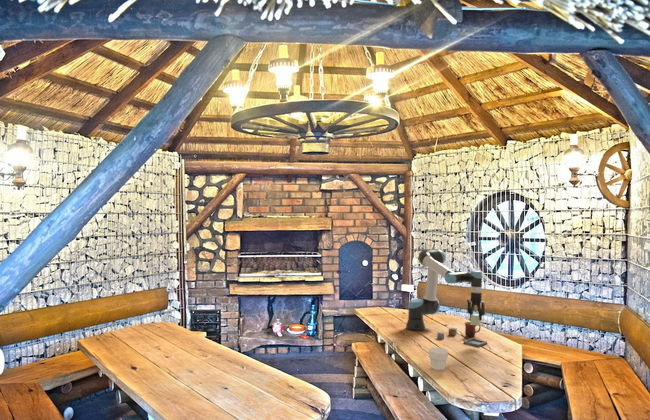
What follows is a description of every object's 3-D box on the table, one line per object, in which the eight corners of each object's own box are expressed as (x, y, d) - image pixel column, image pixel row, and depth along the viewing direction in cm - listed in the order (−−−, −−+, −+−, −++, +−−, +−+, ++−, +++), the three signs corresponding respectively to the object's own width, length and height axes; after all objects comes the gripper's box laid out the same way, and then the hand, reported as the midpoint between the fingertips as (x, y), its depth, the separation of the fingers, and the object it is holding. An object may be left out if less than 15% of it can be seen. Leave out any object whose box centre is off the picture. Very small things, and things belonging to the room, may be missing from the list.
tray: (463, 343, 377) (463, 341, 377) (472, 340, 385) (472, 338, 385) (478, 347, 369) (478, 344, 368) (487, 344, 377) (487, 341, 377)
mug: (465, 337, 393) (465, 324, 393) (463, 334, 402) (463, 321, 401) (481, 338, 392) (481, 325, 392) (479, 335, 400) (479, 322, 400)
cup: (425, 369, 319) (426, 351, 319) (430, 363, 330) (430, 346, 330) (446, 372, 314) (446, 354, 314) (450, 366, 325) (450, 348, 325)
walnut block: (448, 335, 400) (448, 328, 400) (450, 333, 405) (450, 327, 405) (455, 336, 398) (455, 329, 398) (456, 334, 402) (456, 328, 402)
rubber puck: (435, 338, 390) (436, 333, 390) (439, 337, 394) (439, 332, 394) (441, 339, 387) (441, 334, 387) (445, 338, 390) (445, 333, 390)
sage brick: (470, 324, 377) (470, 314, 377) (474, 323, 380) (474, 313, 380) (476, 325, 373) (477, 315, 373) (480, 324, 376) (480, 314, 376)
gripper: (462, 291, 380) (462, 322, 381) (484, 294, 367) (484, 327, 367) (468, 289, 385) (467, 321, 386) (490, 293, 372) (489, 325, 373)
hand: (475, 323), depth 377 cm, fingers closed on sage brick, 5 cm apart
